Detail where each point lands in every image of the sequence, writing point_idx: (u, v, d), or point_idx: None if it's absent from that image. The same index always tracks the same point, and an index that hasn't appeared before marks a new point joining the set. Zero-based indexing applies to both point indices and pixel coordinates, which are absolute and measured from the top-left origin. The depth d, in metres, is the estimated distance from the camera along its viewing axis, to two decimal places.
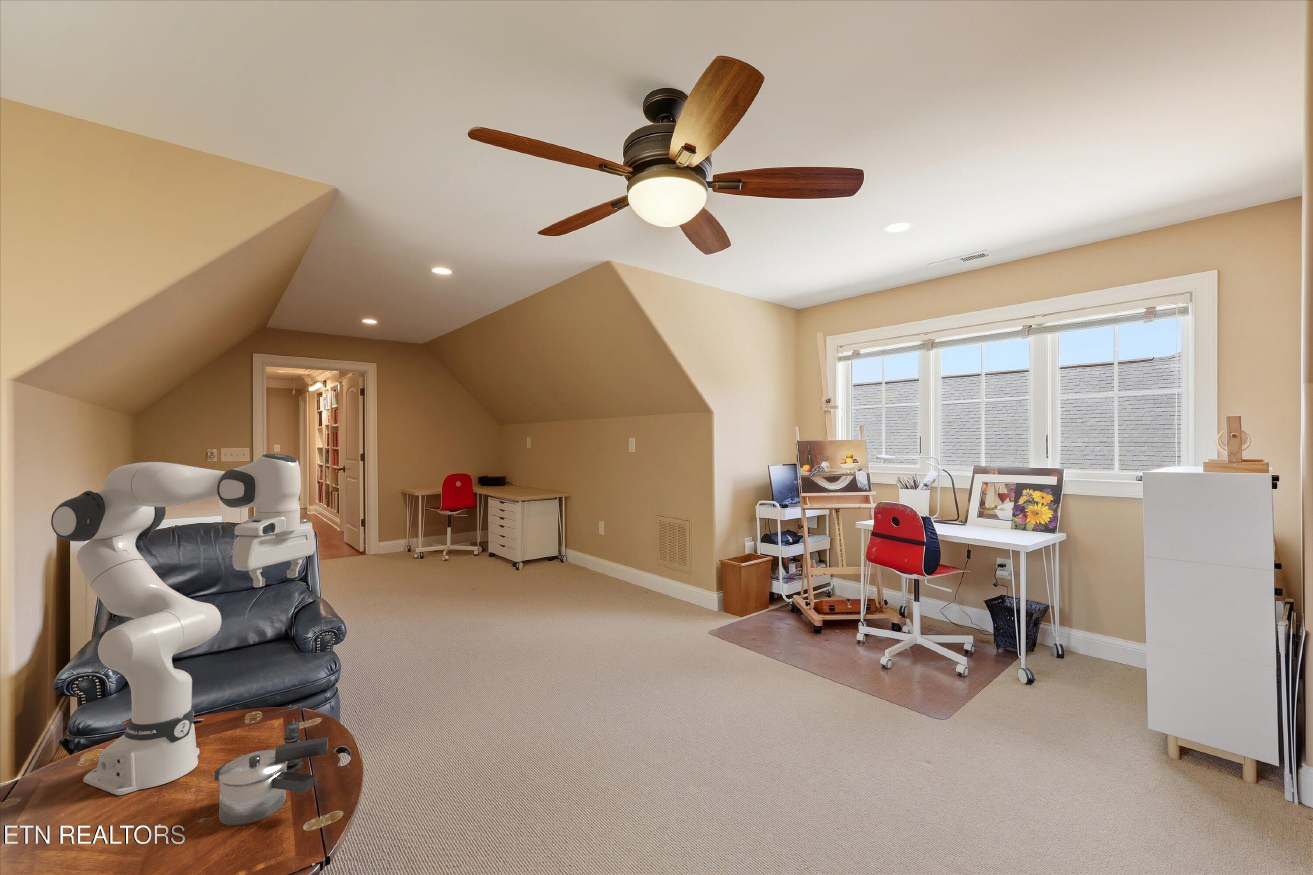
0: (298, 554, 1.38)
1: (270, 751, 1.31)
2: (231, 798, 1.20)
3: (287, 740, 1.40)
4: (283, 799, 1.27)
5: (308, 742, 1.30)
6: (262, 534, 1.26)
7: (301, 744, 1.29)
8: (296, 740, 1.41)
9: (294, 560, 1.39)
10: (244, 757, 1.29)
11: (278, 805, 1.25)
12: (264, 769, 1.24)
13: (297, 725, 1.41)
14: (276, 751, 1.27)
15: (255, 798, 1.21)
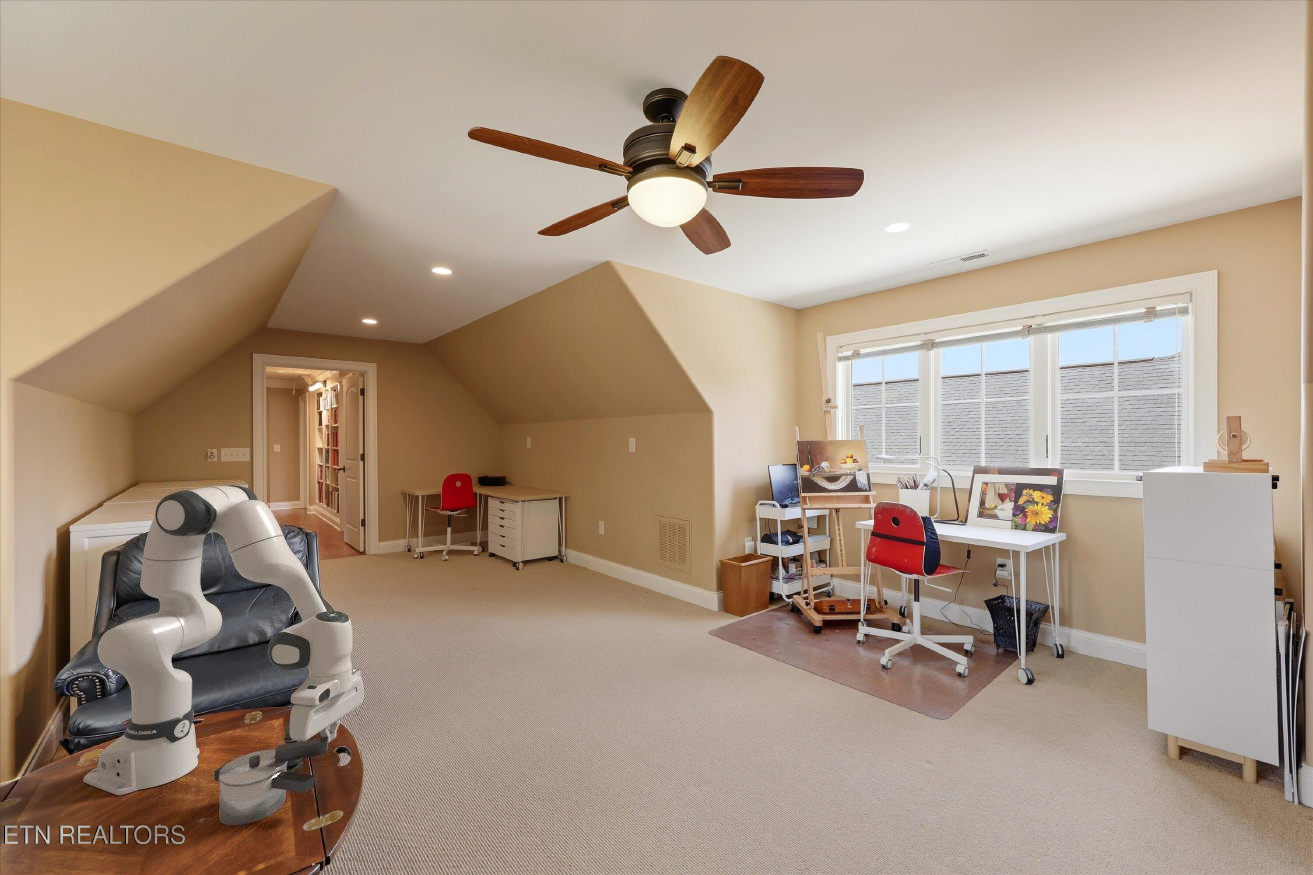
0: (349, 708, 1.39)
1: (270, 751, 1.31)
2: (231, 798, 1.20)
3: (287, 740, 1.40)
4: (283, 799, 1.27)
5: (308, 742, 1.30)
6: (318, 703, 1.27)
7: (301, 744, 1.29)
8: None
9: None
10: (244, 757, 1.29)
11: (278, 805, 1.25)
12: (264, 769, 1.24)
13: None
14: (276, 751, 1.27)
15: (255, 798, 1.21)
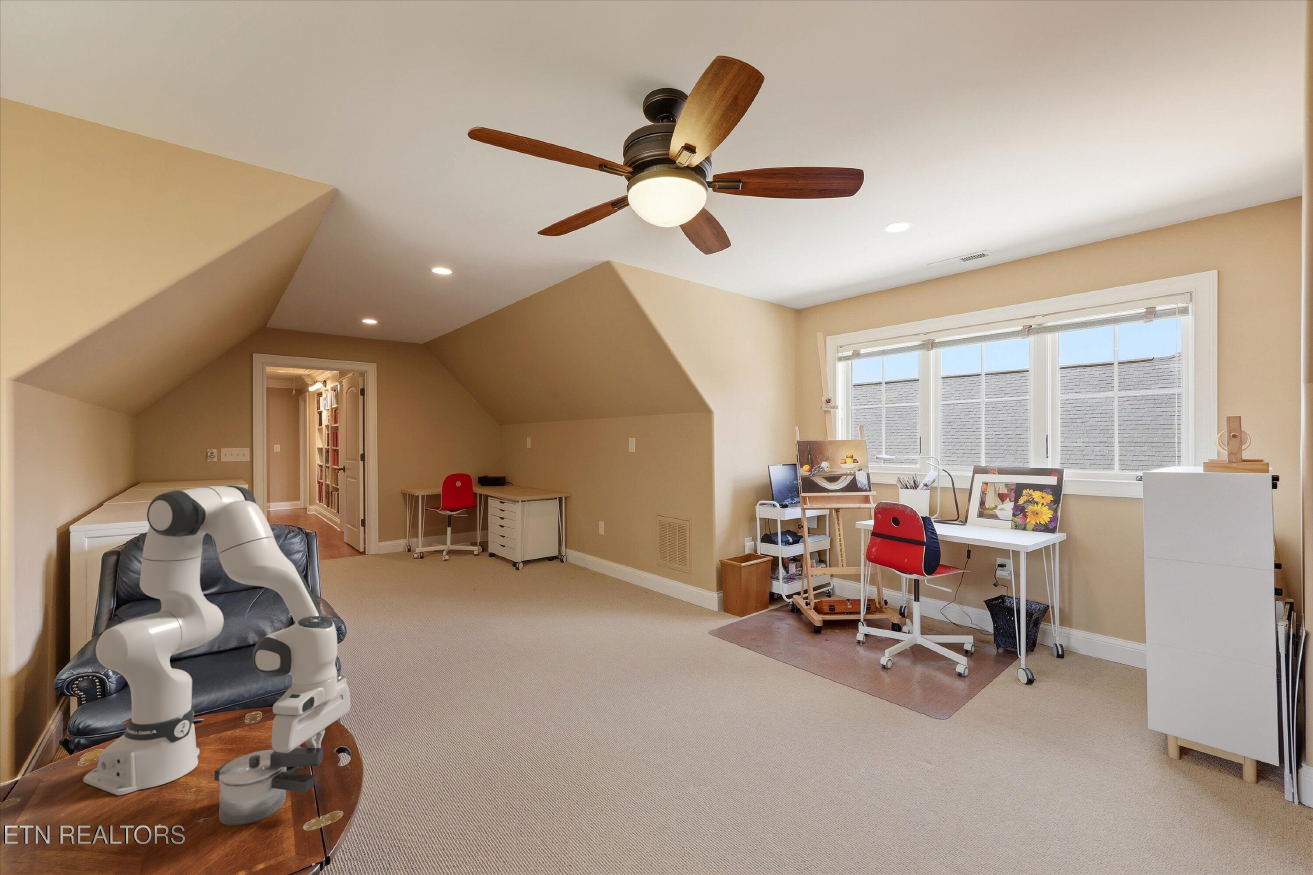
0: (335, 717, 1.33)
1: None
2: (231, 798, 1.20)
3: None
4: (283, 799, 1.27)
5: (302, 750, 1.27)
6: (302, 712, 1.21)
7: (295, 752, 1.26)
8: None
9: None
10: (254, 754, 1.30)
11: (278, 805, 1.25)
12: (256, 771, 1.23)
13: None
14: (271, 755, 1.25)
15: (255, 798, 1.21)
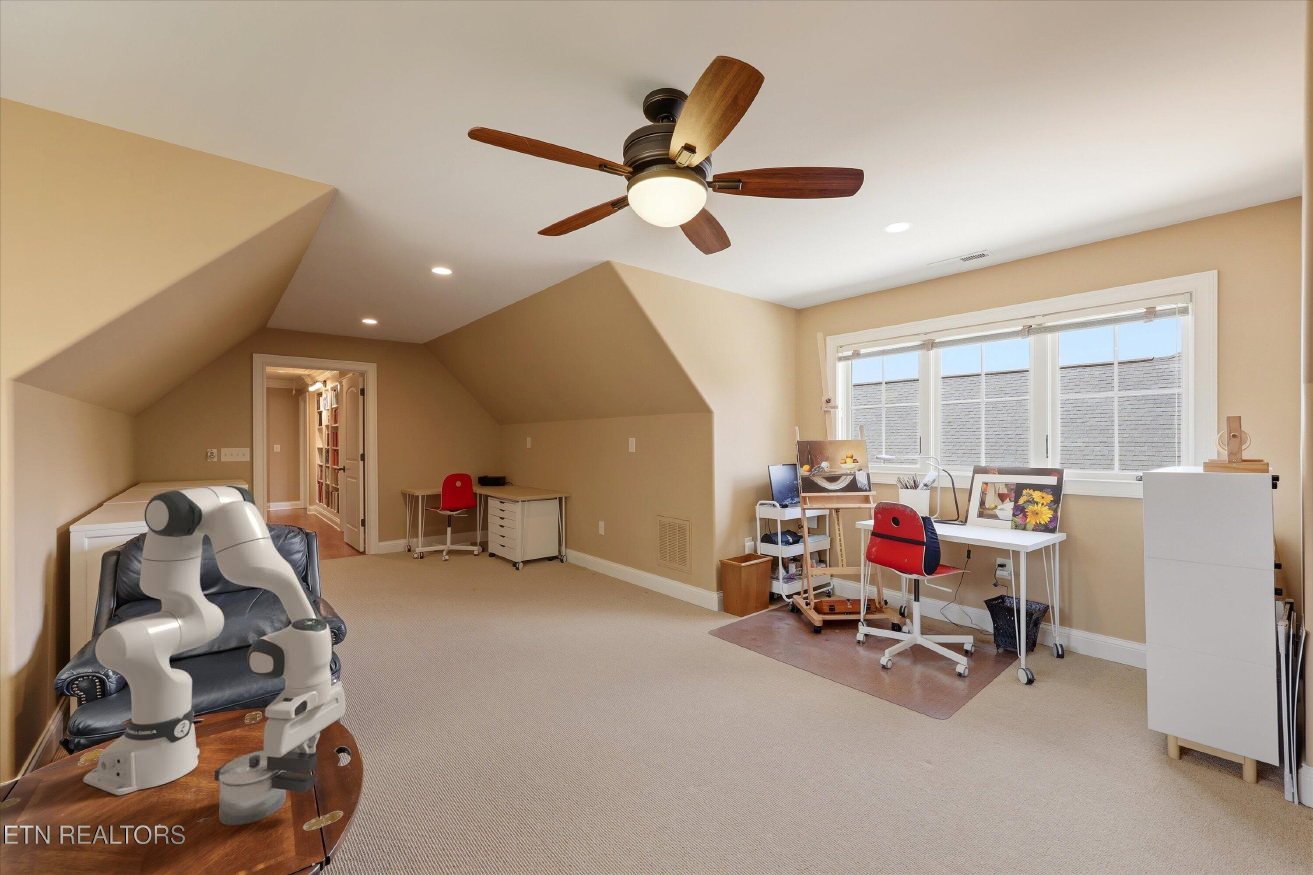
0: (329, 721, 1.31)
1: None
2: (231, 798, 1.20)
3: None
4: (283, 799, 1.27)
5: (297, 755, 1.25)
6: (294, 716, 1.20)
7: (290, 756, 1.24)
8: None
9: None
10: (259, 753, 1.30)
11: (278, 805, 1.25)
12: (253, 772, 1.23)
13: None
14: (268, 757, 1.24)
15: (255, 798, 1.21)
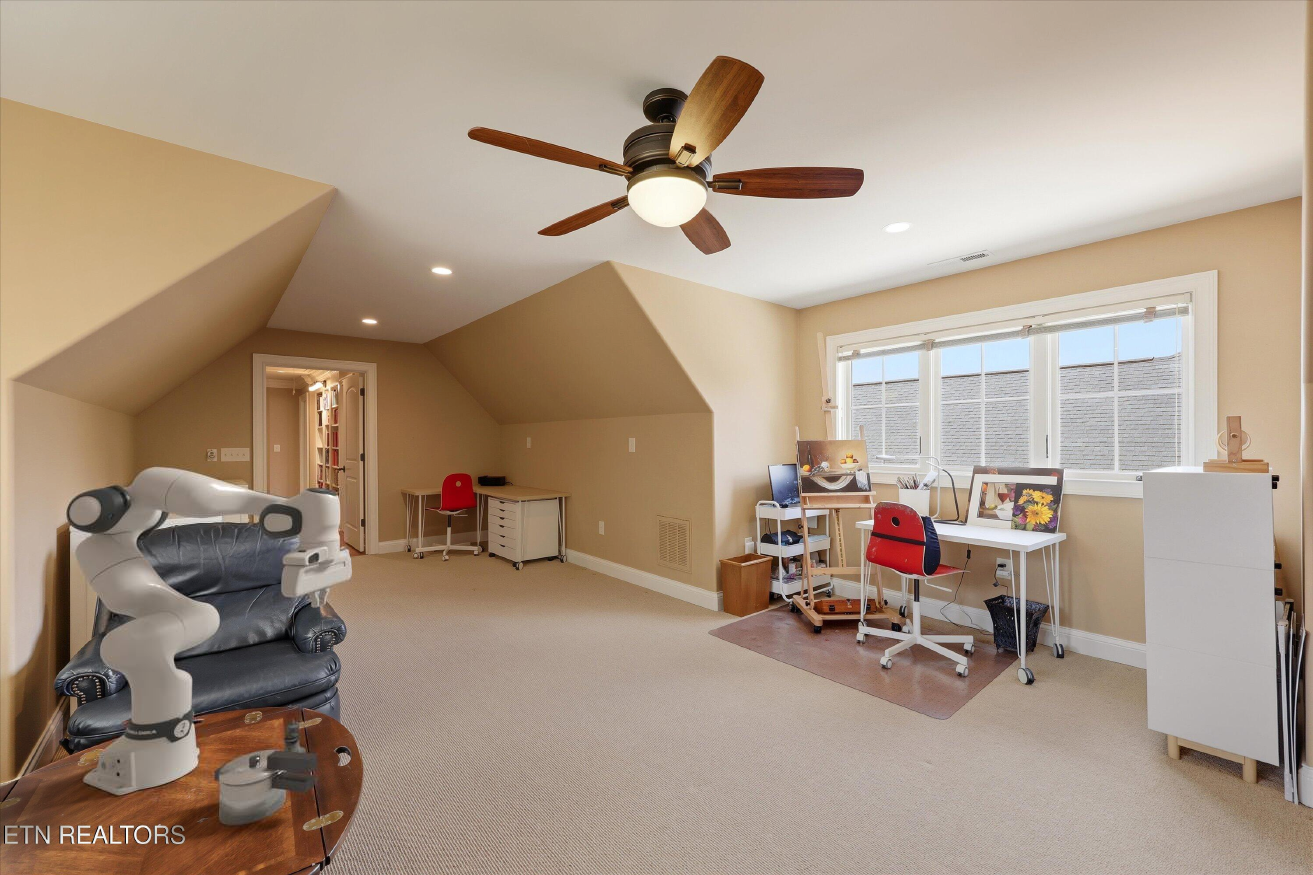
0: (337, 580, 1.49)
1: None
2: (231, 798, 1.20)
3: (287, 740, 1.40)
4: (283, 799, 1.27)
5: (297, 755, 1.25)
6: (308, 563, 1.37)
7: (289, 756, 1.24)
8: (296, 740, 1.41)
9: (322, 589, 1.46)
10: (259, 753, 1.30)
11: (278, 805, 1.25)
12: (253, 772, 1.23)
13: (297, 725, 1.41)
14: (268, 757, 1.24)
15: (255, 798, 1.21)
